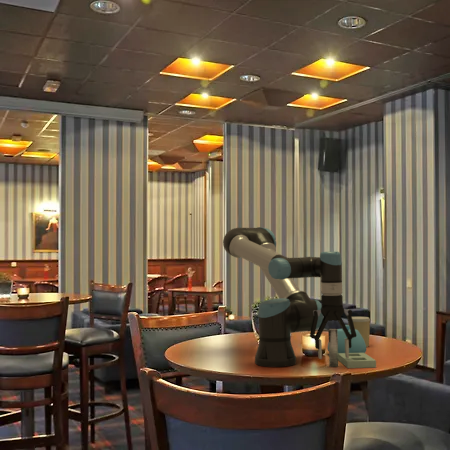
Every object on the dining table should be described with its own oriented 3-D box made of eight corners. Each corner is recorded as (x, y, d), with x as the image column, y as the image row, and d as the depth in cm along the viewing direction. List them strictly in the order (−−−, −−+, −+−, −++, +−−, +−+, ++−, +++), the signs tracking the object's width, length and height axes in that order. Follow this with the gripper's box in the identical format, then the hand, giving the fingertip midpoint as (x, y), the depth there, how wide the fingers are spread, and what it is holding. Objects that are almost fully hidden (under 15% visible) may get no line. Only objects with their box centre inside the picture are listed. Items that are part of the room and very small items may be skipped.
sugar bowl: (337, 350, 246) (336, 322, 247) (372, 353, 238) (371, 324, 238) (321, 356, 234) (320, 326, 235) (357, 359, 225) (356, 328, 226)
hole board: (348, 368, 209) (347, 361, 209) (337, 359, 225) (337, 353, 225) (376, 367, 210) (376, 360, 210) (364, 359, 226) (363, 352, 226)
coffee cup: (375, 346, 254) (374, 317, 254) (360, 348, 249) (359, 319, 249) (359, 343, 262) (358, 316, 262) (343, 345, 256) (343, 317, 257)
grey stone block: (330, 367, 212) (329, 330, 212) (328, 365, 215) (327, 329, 216) (339, 366, 212) (338, 330, 213) (337, 365, 215) (336, 328, 216)
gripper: (303, 296, 210) (305, 360, 210) (364, 294, 211) (366, 358, 210) (300, 294, 218) (301, 356, 217) (359, 293, 219) (361, 354, 218)
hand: (333, 357), depth 214 cm, fingers open, 9 cm apart
